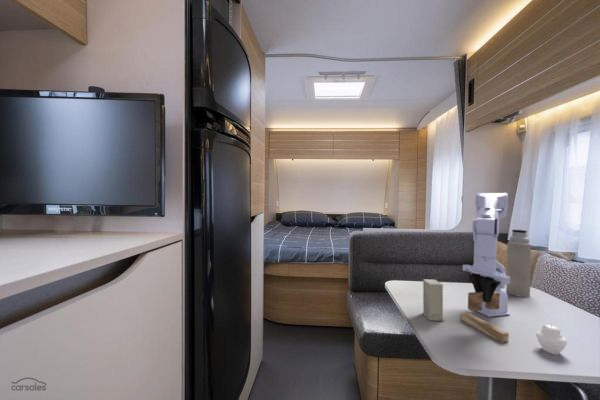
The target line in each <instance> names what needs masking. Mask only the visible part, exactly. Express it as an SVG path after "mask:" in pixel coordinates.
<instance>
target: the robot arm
mask: <svg viewBox="0 0 600 400" xmlns="http://www.w3.org/2000/svg"><path fill="white" fill-rule="evenodd" d="M508 201H509V195H508V193H507V192H477V193H476V194H475V201H474V202H475V210H476V211H475V212H476V213H477V215H476V219H475V218H473V220H472V227H471V228H472V235H473V237H472V238H473V239H472V241H474V242H473V244H474V245H473V264H471V265H470V264H462V271H463V272H469V273H471V274H469V275H468V278H469V280H470V282H471V283H472V286H473V289H474V292H483V300H484V302H482V310H481V311H477V312H478V313H479V314H481V315H484V316H486V317H488V318H490V317H500V316H501V317H502V316H510V313H509V312H508V306H509V305H508V303H509V296H508V293H507V292H506V289H505V288H506V285H507V284H510V277H508V276H507V275H506V268H505V266H504V265H503V264H502V263H500V261H498V260H497V254H498V253H497V252H498V251H497V250H498V236H499V232H500V221H501V219H503V218H505V217H506V216H507V213H508V207H509V205H508ZM495 291H496V292H498V293H500V302H499V309H493V310H490V309H488V308H486V307H485V305H486V302H491V299H492V296H493V294H494V292H495Z"/></svg>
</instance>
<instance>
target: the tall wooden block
mask: <svg viewBox="0 0 600 400" xmlns="http://www.w3.org/2000/svg"><path fill="white" fill-rule="evenodd" d="M482 302H484V300H483V292H475V291H472V292H468V293H467V309H468V310H470V311H472V312H478V311H481V310H482ZM499 302H500V293H498V292H496V291H495V292H494V294H493V296H492V299H491V302H486V305H485V307H486V308H488V309H490V310H493V309H499Z"/></svg>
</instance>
